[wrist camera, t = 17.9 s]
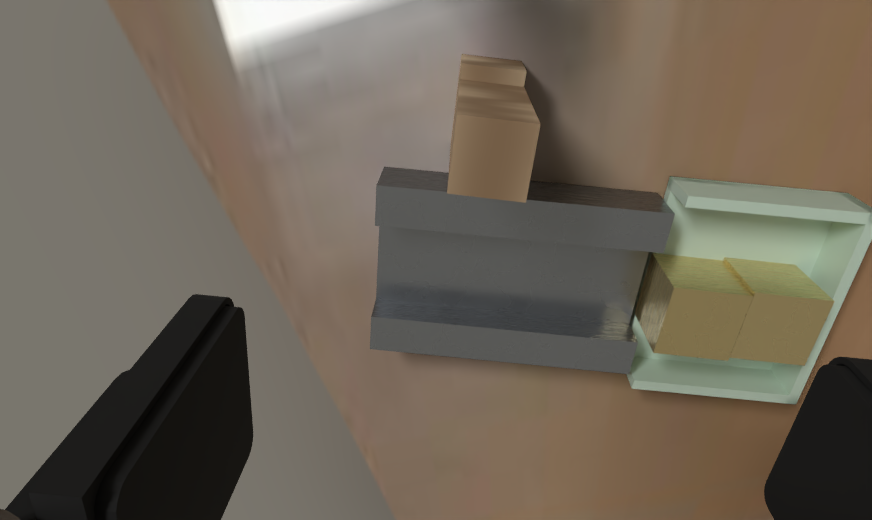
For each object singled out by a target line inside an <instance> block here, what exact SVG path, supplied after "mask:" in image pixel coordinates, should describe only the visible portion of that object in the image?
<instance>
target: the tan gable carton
mask: <svg viewBox="0 0 872 520" xmlns="http://www.w3.org/2000/svg"><path fill="white" fill-rule="evenodd" d="M526 72H527V71H526V69H525V67H524V65H523V63H522V61H516V60H507V59H499V58H491V57H482V56H474V55H466V54H462V56H461V65H460V73H459V81H458V89H457V98H456V106H455V114H454V122H453V131H452V139H451V149H450V165H449V176H448V187H447V194H456V195H464V196H473V197H481V198H489V199H498V200H506V201H515V202H523V203H526V199H527V194H528V189H529V183H530V178H531V173H532V167H533V162H534V157H535V152H536V146H537V141H538V136H539V130H540V125H541V124H540V122H539V119H538V117H537V115H536V113H535V110H534V108H533V106H532V104H531V101H530V99H529V97H528V95H527V92H526V90H525V88H524V84H525V78H526Z"/></svg>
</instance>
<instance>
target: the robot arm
mask: <svg viewBox="0 0 872 520" xmlns="http://www.w3.org/2000/svg"><path fill="white" fill-rule="evenodd" d="M252 442H253V424H252V411H251V398H250V385H249V370H248V357H247V344H246V330H245V316H244V311H243V309H242V308H240V307H234V304H233V302H232V299H230V298H228V297H218V296H208V295H198V294H196V295H192V296H191V297H190V298H189V299H188V300H187V301H186V303H185V304H184V305H183V306H182V307H181V309H180V310H179V311H178V312H177V314H176V315H175V316H174V317H173V319H172V320H171V321H170V322H169V323H168V324H167V326H166V327H165V328H164V329H163V330H162V332H161V333H160V334H159V335H158V337H157V338H156V339H155V340H154V341H153V343H152V344H151V345H150V346H149V347H148V349H147V350H146V351H145V352H144V353H143V355H142V356H141V357H140V358H139V360H138V361H137V362H136V363H135V364H134V366H133V367H132V368H131V369H130V370H128V371H125V372H123V373H121V374H120V375H119V376H118V377H117V378H116V379H115V380H114V381H113V382H112V383H111V385H110V386H109V387H108V388H107V389H106V391H105V392H104V393H103V394H102V395H101V396H100V398H99V399H98V400H97V401H96V402H95V404H94V405H93V406H92V407H91V408H90V410H89V411H88V412H87V413H86V414H85V415H84V417H83V418H82V419H81V420H80V421H79V423H78V424H77V425H76V426H75V427H74V429H73V430H72V431H71V432H70V433H69V434H68V436H67V437H66V438H65V439H64V440H63V442H62V443H61V444H60V445H59V446H58V448H57V449H56V450H55V451H54V452H53V453H52V455H51V456H50V457H49V458H48V459H47V460H46V462H45V463H44V464H43V465H42V466H41V468H40V469H39V470H38V471H37V472H36V473H35V475H34V476H33V477H32V478H31V479H30V481H29V482H28V483H27V484H26V485H25V486H24V488H23V489H22V490H21V491H20V493H19V494H18V495H17V496H16V497H15V498H14V500H13V501H12V502H11V503H10V504H9V505H8V507H7V508H6V509H5V510H3V509H0V520H221V518H222V516H223V513H224V511H225V509H226V507H227V504H228V502H229V500H230V497H231V495H232V493H233V491H234V489H235V486H236V484H237V482H238V480H239V477H240V475H241V473H242V471H243V468H244V466H245V464H246V461H247V459H248V457H249V454H250V451H251V447H252ZM764 495H765V501H766V504H767V507H768V509H769V511H770V513H771V514H772V516H773V518H774V520H872V360H869V359H859V358H848V357H837V358H834V359H833V360H832V361H830V363H829V364H827V365H823V366H822V367H821V368H820V369H819V370H818V372H817V374H816V376H815V378H814V380H813V382H812V385H811V387H810V389H809V391H808V393H807V395H806V397H805V400H804V402H803V404H802V406H801V408H800V410H799V413H798V415H797V417H796V419H795V421H794V423H793V425H792V428H791V430H790V432H789V434H788V436H787V438H786V440H785V443H784V445H783V447H782V449H781V451H780V453H779V455H778V458H777V460H776V462H775V464H774V466H773V468H772V471H771V473H770V475H769V477H768V479H767V481H766V484H765V490H764Z"/></svg>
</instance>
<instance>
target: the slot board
mask: <svg viewBox="0 0 872 520" xmlns="http://www.w3.org/2000/svg"><path fill="white" fill-rule="evenodd" d="M448 176H449V173H443V172H433V171H423V170H412V169H402V168H391V167H384V168H383V171H382V173H381V176H380V178H379V181H378V183H377V189H376V214H375V225H376V226H379V247H378V270H377V293H376V301H375V305H374V309H373V312H372V316H371V337H370V349H376V350H386V351H396V352H407V353H417V354H427V355H437V356H448V357H458V358H468V359H479V360H489V361H499V362H509V363H520V364H530V365H540V366H551V367H561V368H571V369H582V370H592V371H602V372H612V373H623V374H629V372H630V369H631V365H632V362H633V358H634V355H635V351H636V348H637V344H638V341H637V339H636V337H635V335H634V333H633V330H632V328H631V326H630V324H629V322H630V319H631V315H632V312H633V308H634V304H635V301H636V297H637V293H638V290H639V286H640V282H641V279H642V275H643V271H644V268H645V264H646V261H647V257H648V253H649V252H656V253H664V250H665V247H666V243H667V240H668V236H669V233H670V230H671V226H672V223H673V219H674V216H675V213H674V212H673V211H672V210H671V208H670V207H669V206H668V205H667V204H666V202H665V201H664V200H663V199H662V197H661V196H660V195H659V194H658V193H653V192H642V191H632V190H621V189H611V188H600V187H590V186H579V185H569V184H558V183H548V182H538V181H530V183H529V189H528V194H527V199H526V203H523V202H515V201H506V200H498V199H489V198H481V197H473V196H464V195H456V194H447V187H448Z"/></svg>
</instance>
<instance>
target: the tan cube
mask: <svg viewBox="0 0 872 520" xmlns="http://www.w3.org/2000/svg"><path fill="white" fill-rule="evenodd" d="M752 299H753V295H752V294H751V293H750V292H749V290H748V289H747V288H746V287H745V286H744V285H743V283H742V282H741V281H740V280H739V279H738V278H737V276H736V275H735V274H734V273H733V272H732V270H731V269H730V268H729V267H728V266H727V265H726V263H725V262H724V261H723V260H714V259H705V258H696V257H687V256H677V255H668V254H659V253H652V255H651V258H650V262H649V265H648V269H647V272H646V275H645V279H644V282H643V286H642V289H641V293H640V296H639V299H638V303H637V306H636V310H635V315H636V317H637V319H638V322H639V324H640V326H641V328H642V330H643V332H644V334H645V336H646V338H647V340H648V343H649V345H650V347H651V349H652V351H653V353H659V354H669V355H678V356H687V357H696V358H706V359H715V360H724V361H728V360H729V357H730V355H731V352H732V350H733V347H734V345H735V342H736V340H737V337H738V335H739V332H740V329H741V327H742V324H743V322H744V319H745V317H746V314H747V312H748V309H749V307H750V304H751V302H752Z"/></svg>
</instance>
